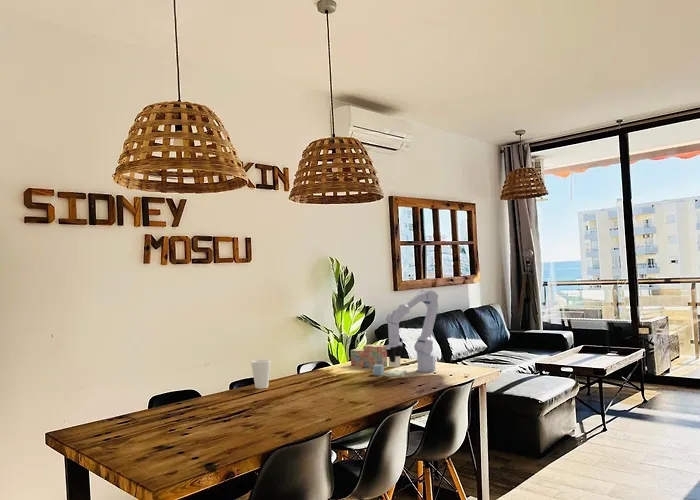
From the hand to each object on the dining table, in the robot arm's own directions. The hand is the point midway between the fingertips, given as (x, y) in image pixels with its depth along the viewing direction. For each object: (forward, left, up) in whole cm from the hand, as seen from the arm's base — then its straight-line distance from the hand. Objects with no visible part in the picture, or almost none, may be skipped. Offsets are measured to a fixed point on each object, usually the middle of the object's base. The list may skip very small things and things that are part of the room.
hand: (394, 361), depth 282 cm
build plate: (0, 0, -7) cm, 7 cm away
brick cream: (0, 0, -3) cm, 3 cm away
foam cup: (+58, +40, -7) cm, 71 cm away
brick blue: (+9, +1, -7) cm, 12 cm away
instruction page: (+12, -10, -7) cm, 17 cm away
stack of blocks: (+22, -23, -7) cm, 33 cm away
